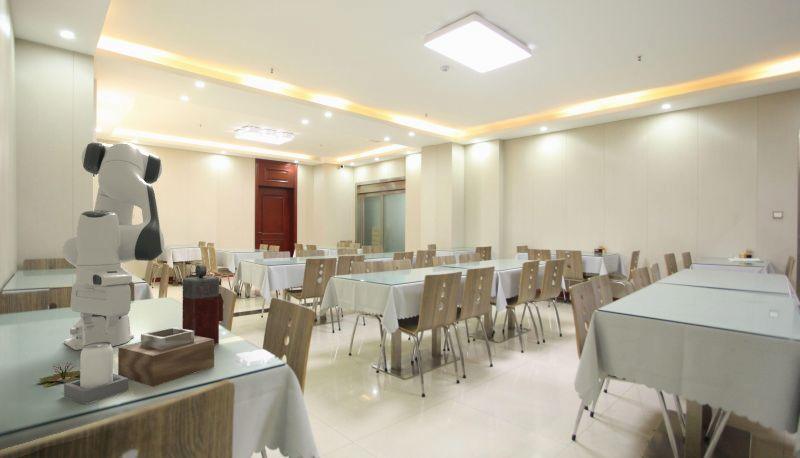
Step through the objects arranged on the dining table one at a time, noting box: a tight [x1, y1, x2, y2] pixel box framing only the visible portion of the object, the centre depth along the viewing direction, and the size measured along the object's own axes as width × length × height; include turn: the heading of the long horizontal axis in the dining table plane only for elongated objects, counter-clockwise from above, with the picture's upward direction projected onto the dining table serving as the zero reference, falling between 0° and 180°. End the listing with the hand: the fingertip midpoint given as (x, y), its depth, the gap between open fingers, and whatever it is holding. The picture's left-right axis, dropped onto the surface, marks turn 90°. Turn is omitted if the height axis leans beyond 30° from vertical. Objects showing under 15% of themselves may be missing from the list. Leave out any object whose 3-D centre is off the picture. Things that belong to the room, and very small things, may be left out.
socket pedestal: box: [117, 326, 215, 388], centre depth 116 cm, size 16×18×11 cm
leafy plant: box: [36, 362, 80, 388], centre depth 110 cm, size 12×12×5 cm
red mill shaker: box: [181, 264, 224, 345], centre depth 146 cm, size 9×11×28 cm
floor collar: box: [63, 373, 130, 405], centre depth 101 cm, size 10×10×3 cm
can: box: [79, 342, 114, 389], centre depth 101 cm, size 6×6×12 cm
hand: (99, 332), depth 101 cm, fingers open, 8 cm apart
